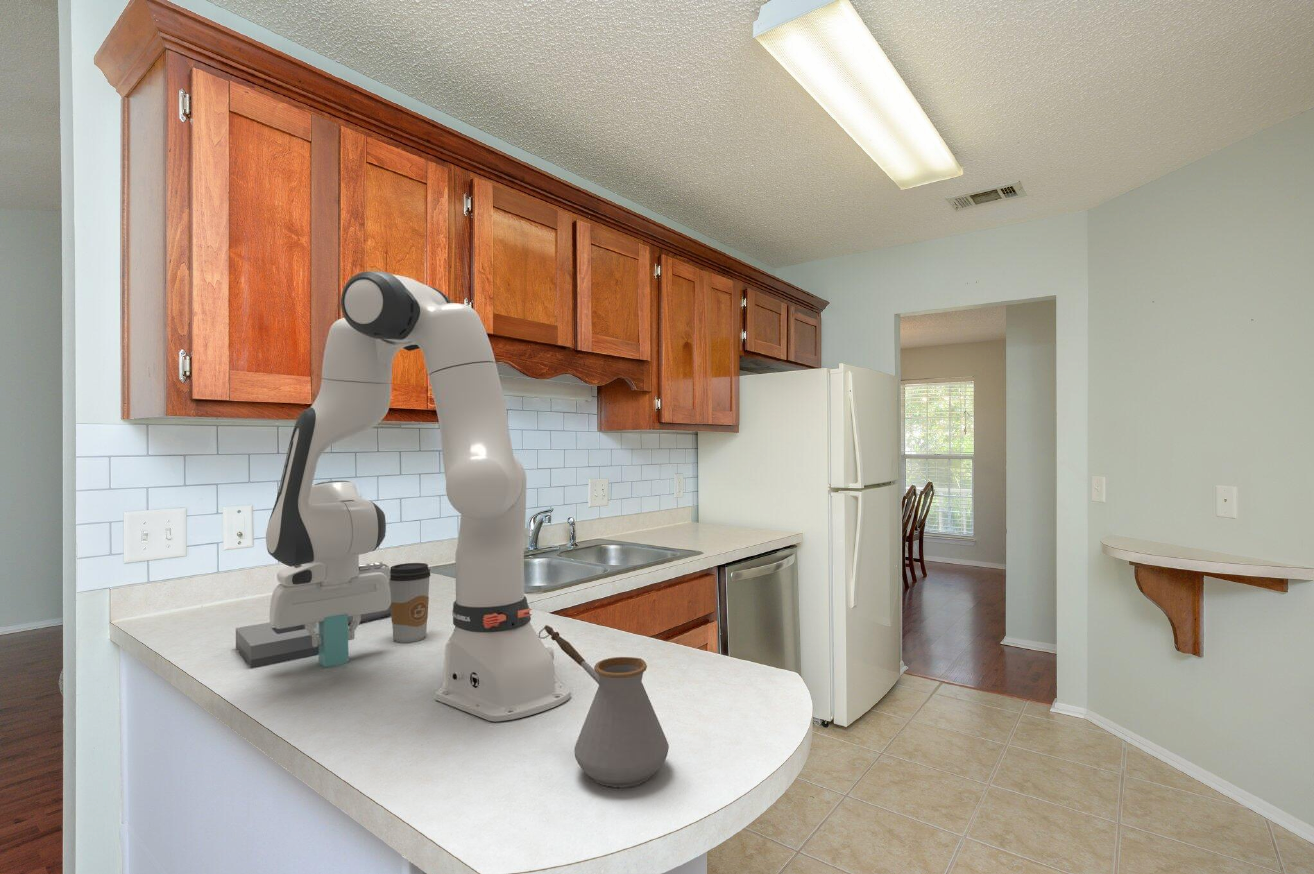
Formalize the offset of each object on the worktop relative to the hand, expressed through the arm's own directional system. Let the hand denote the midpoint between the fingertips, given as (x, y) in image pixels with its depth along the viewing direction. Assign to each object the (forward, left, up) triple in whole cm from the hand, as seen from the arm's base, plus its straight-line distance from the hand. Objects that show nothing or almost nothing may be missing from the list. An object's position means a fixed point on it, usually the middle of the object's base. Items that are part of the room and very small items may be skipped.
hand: (333, 642), depth 120 cm
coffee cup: (+5, -16, -4) cm, 17 cm away
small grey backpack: (+31, -13, -4) cm, 34 cm away
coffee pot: (-63, -14, -4) cm, 65 cm away
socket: (+15, +4, -4) cm, 16 cm away
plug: (0, 0, -4) cm, 4 cm away
